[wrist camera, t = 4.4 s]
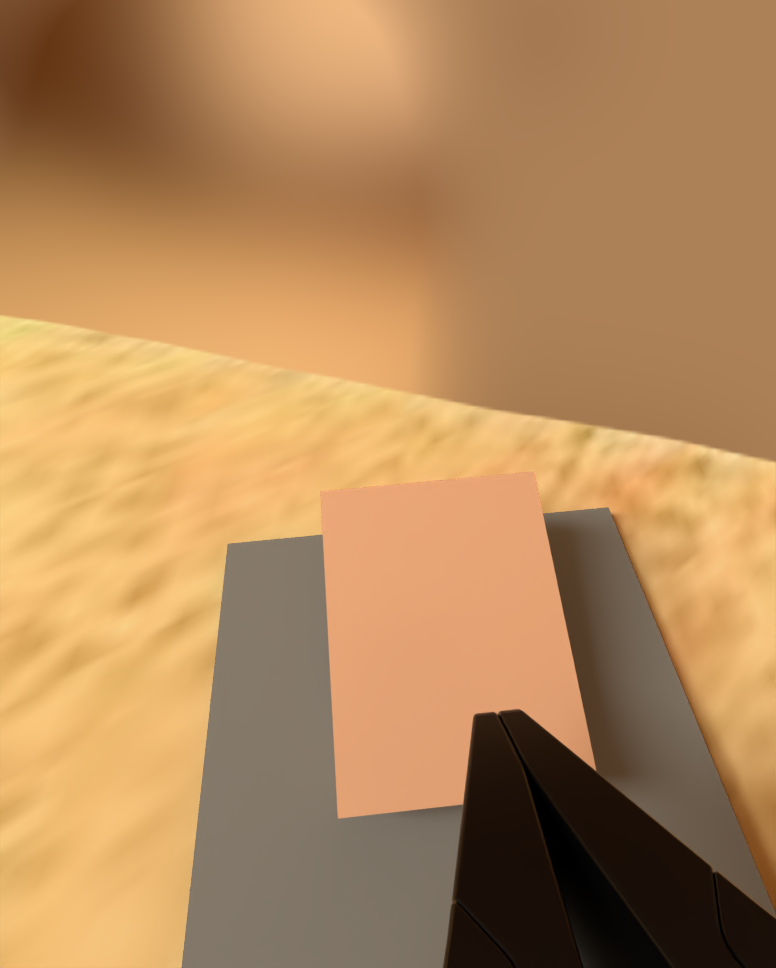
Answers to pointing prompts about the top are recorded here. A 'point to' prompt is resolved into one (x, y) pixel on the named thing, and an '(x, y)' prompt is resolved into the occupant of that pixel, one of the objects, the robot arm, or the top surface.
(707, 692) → the top surface
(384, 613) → the tile
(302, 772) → the mat
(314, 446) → the top surface
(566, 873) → the robot arm
